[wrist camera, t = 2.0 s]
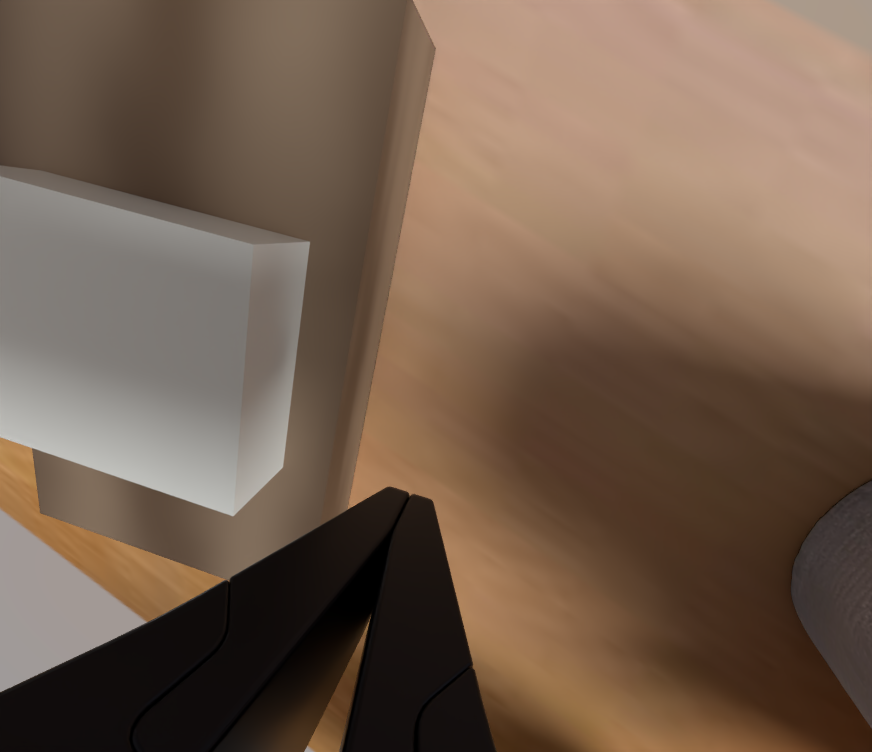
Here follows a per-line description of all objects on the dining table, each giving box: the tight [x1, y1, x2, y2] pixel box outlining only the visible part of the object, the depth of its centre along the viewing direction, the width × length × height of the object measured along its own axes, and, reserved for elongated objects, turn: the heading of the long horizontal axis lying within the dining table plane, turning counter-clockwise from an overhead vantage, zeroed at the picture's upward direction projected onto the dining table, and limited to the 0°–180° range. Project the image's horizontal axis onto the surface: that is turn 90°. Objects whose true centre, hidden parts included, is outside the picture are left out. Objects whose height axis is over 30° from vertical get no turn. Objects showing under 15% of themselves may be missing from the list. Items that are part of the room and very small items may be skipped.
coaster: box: [0, 165, 310, 516], centre depth 12 cm, size 8×7×2 cm
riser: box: [0, 0, 436, 580], centre depth 14 cm, size 11×18×3 cm, turn 167°
